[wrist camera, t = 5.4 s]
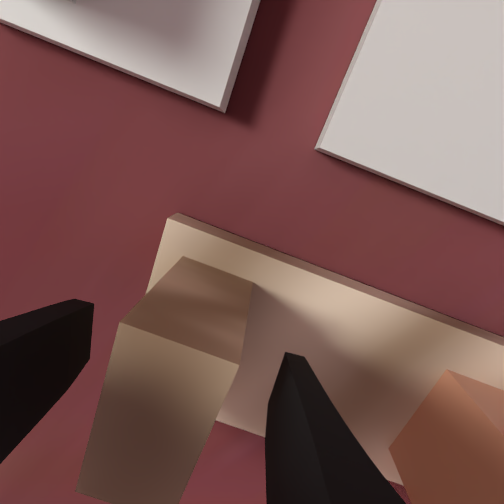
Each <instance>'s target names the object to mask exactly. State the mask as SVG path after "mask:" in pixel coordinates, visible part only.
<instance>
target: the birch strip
mask: <svg viewBox="0 0 504 504" xmlns="http://www.w3.org/2000/svg"><path fill="white" fill-rule="evenodd" d="M285 352H288V353H292V354H296V355H300V356H304V357H305V358H306V360H307V361H308V363H309V365H310V366H311V368H312V370H313V371H314V373H315V375H316V377H317V378H318V380H319V382H320V383H321V385H322V387H323V388H324V390H325V392H326V393H327V395H328V397H329V398H330V400H331V401H332V403H333V405H334V406H335V408H336V409H337V411H338V412H339V414H340V415H341V417H342V419H343V420H344V422H345V423H346V425H347V426H348V428H349V429H350V430H351V432H352V433H353V435H354V436H355V438H356V439H357V440H358V442H359V443H360V445H361V446H362V448H363V449H364V450H365V452H366V453H367V455H368V456H369V457H370V459H371V460H372V461H373V463H374V464H375V465H376V467H377V468H378V469H379V471H380V472H381V473H382V475H383V476H384V477H385V478H386V480H389V481H392V482H395V483H398V484H400V485H403V482H402V480H401V478H400V475H399V473H398V470H397V468H396V465H395V463H394V461H393V458H392V456H391V453H390V451H389V449H388V448H389V447H390V446H391V444H392V443H393V442H394V440H395V439H396V437H397V436H398V435H399V433H400V432H401V431H402V429H403V428H404V426H405V425H406V424H407V422H408V421H409V420H410V418H411V417H412V416H413V414H414V413H415V411H416V410H417V409H418V407H419V406H420V405H421V403H422V402H423V401H424V399H425V398H426V396H427V395H428V394H429V392H430V391H431V390H432V388H433V387H434V385H435V384H436V383H437V381H438V380H439V379H440V377H441V376H442V375H443V373H444V372H445V370H446V369H448V370H450V371H453V372H456V373H458V374H461V375H464V376H466V377H469V378H472V379H474V380H477V381H480V382H482V383H485V384H488V385H490V386H493V387H496V388H498V389H501V390H504V337H501V336H499V335H496V334H493V333H491V332H488V331H485V330H483V329H480V328H478V327H475V326H472V325H470V324H467V323H465V322H462V321H459V320H457V319H454V318H452V317H449V316H446V315H444V314H441V313H438V312H436V311H433V310H431V309H428V308H425V307H423V306H420V305H418V304H415V303H412V302H410V301H407V300H404V299H402V298H399V297H397V296H394V295H391V294H389V293H386V292H384V291H381V290H378V289H376V288H373V287H371V286H368V285H365V284H363V283H360V282H357V281H355V280H352V279H350V278H347V277H344V276H342V275H339V274H337V273H334V272H331V271H329V270H326V269H323V268H321V267H318V266H316V265H313V264H310V263H308V262H305V261H303V260H300V259H297V258H295V257H292V256H290V255H287V254H284V253H282V252H279V251H276V250H274V249H271V248H269V247H266V246H263V245H261V244H258V243H256V242H253V241H250V240H248V239H245V238H243V237H240V236H237V235H235V234H232V233H229V232H227V231H224V230H222V229H219V228H216V227H214V226H211V225H209V224H206V223H203V222H201V221H198V220H195V219H193V218H190V217H188V216H185V215H182V214H180V213H176V214H174V215H172V216H170V217H169V218H167V222H166V225H165V229H164V232H163V236H162V239H161V243H160V246H159V250H158V253H157V257H156V260H155V264H154V267H153V271H152V274H151V278H150V281H149V285H148V288H147V292H146V295H145V296H144V297H143V298H142V299H141V300H140V301H139V302H138V303H137V304H136V305H135V306H134V307H133V309H132V310H131V311H130V312H129V313H128V314H127V315H126V316H125V317H124V318H123V319H122V320H121V321H120V323H119V326H118V330H117V334H116V338H115V342H114V345H113V349H112V353H111V357H110V361H109V364H108V368H107V372H106V376H105V380H104V383H103V387H102V391H101V395H100V399H99V403H98V406H97V410H96V414H95V418H94V422H93V425H92V429H91V433H90V437H89V441H88V444H87V448H86V452H85V456H84V460H83V464H82V467H81V471H80V475H79V479H78V483H77V486H76V490H75V492H78V493H81V494H84V495H87V496H90V497H93V498H96V499H99V500H103V501H106V502H109V503H112V504H179V501H180V499H181V497H182V494H183V492H184V490H185V488H186V485H187V483H188V481H189V479H190V476H191V474H192V472H193V470H194V467H195V465H196V463H197V461H198V458H199V456H200V454H201V452H202V449H203V447H204V445H205V443H206V440H207V438H208V436H209V434H210V431H211V429H212V427H213V425H214V422H215V420H217V421H220V422H222V423H225V424H228V425H231V426H234V427H237V428H240V429H243V430H245V431H248V432H251V433H254V434H257V435H260V436H263V437H265V432H266V419H267V407H268V401H269V398H270V395H271V392H272V389H273V386H274V383H275V380H276V377H277V375H278V372H279V369H280V366H281V363H282V360H283V357H284V354H285ZM403 486H404V485H403Z"/></svg>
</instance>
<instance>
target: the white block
mask: <svg viewBox="0 0 504 504" xmlns="http://www.w3.org/2000/svg"><path fill="white" fill-rule="evenodd" d="M259 3H260V0H0V23H3V24H5V25H8V26H10V27H13V28H15V29H18V30H20V31H23V32H25V33H28V34H30V35H33V36H35V37H37V38H40V39H42V40H45V41H47V42H50V43H52V44H55V45H57V46H60V47H62V48H65V49H67V50H70V51H72V52H75V53H77V54H80V55H82V56H85V57H87V58H89V59H92V60H94V61H97V62H99V63H102V64H104V65H107V66H109V67H112V68H114V69H117V70H119V71H122V72H124V73H127V74H129V75H132V76H134V77H137V78H139V79H141V80H144V81H146V82H149V83H151V84H154V85H156V86H159V87H161V88H164V89H166V90H169V91H171V92H174V93H176V94H179V95H181V96H184V97H186V98H189V99H191V100H193V101H196V102H198V103H201V104H203V105H206V106H208V107H211V108H213V109H216V110H218V111H221V112H223V113H225V112H226V108H227V105H228V102H229V99H230V96H231V92H232V89H233V86H234V83H235V80H236V77H237V73H238V70H239V67H240V64H241V61H242V57H243V54H244V51H245V48H246V45H247V42H248V38H249V35H250V32H251V29H252V26H253V22H254V19H255V16H256V13H257V10H258V7H259ZM315 150H317V151H320V152H322V153H325V154H327V155H330V156H332V157H335V158H337V159H340V160H342V161H345V162H347V163H349V164H352V165H354V166H357V167H359V168H362V169H364V170H367V171H369V172H372V173H374V174H377V175H379V176H382V177H384V178H387V179H389V180H392V181H394V182H397V183H399V184H401V185H404V186H406V187H409V188H411V189H414V190H416V191H419V192H421V193H424V194H426V195H429V196H431V197H434V198H436V199H439V200H441V201H444V202H446V203H449V204H451V205H453V206H456V207H458V208H461V209H463V210H466V211H468V212H471V213H473V214H476V215H478V216H481V217H483V218H486V219H488V220H491V221H493V222H496V223H498V224H501V225H503V226H504V0H377V2H376V4H375V6H374V9H373V11H372V13H371V16H370V18H369V21H368V23H367V25H366V28H365V30H364V32H363V35H362V37H361V40H360V42H359V44H358V47H357V49H356V51H355V54H354V56H353V59H352V61H351V63H350V66H349V68H348V70H347V73H346V75H345V78H344V80H343V82H342V85H341V87H340V89H339V92H338V94H337V97H336V99H335V101H334V104H333V106H332V109H331V111H330V113H329V116H328V118H327V120H326V123H325V125H324V128H323V130H322V132H321V135H320V137H319V139H318V142H317V144H316V147H315Z"/></svg>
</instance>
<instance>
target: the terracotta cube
mask: <svg viewBox="0 0 504 504" xmlns="http://www.w3.org/2000/svg"><path fill="white" fill-rule="evenodd" d="M388 449H389V451H390V453H391V456H392V458H393V461H394V463H395V465H396V468H397V470H398V473H399V475H400V478H401V480H402V482H403V485H404V487H405V490H406V492H407V495H408V497H409V499H410V502H411V504H504V390H501V389H498V388H496V387H493V386H490V385H488V384H485V383H482V382H480V381H477V380H474V379H472V378H469V377H466V376H464V375H461V374H458V373H456V372H453V371H450V370H448V369H446V370H445V372H444V373H443V375H442V376H441V377H440V379H439V380H438V381H437V383H436V384H435V385H434V387H433V388H432V390H431V391H430V392H429V394H428V395H427V396H426V398H425V399H424V401H423V402H422V403H421V405H420V406H419V407H418V409H417V410H416V411H415V413H414V414H413V416H412V417H411V418H410V420H409V421H408V422H407V424H406V425H405V426H404V428H403V429H402V431H401V432H400V433H399V435H398V436H397V437H396V439H395V440H394V442H393V443H392V444H391V446H390V447H389V448H388Z"/></svg>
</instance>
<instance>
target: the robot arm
mask: <svg viewBox="0 0 504 504" xmlns="http://www.w3.org/2000/svg"><path fill="white" fill-rule="evenodd" d="M93 311H94V304H93V303H89V302H85V301H81V300H77V299H72V300H67V301H64V302H60V303H57V304H53V305H50V306H47V307H43V308H40V309H37V310H34V311H31V312H27V313H24V314H21V315H18V316H15V317H12V318H8V319H5V320H2V321H0V464H1V463H2V461H3V460H4V459H5V458H6V457H7V456H8V455H9V454H10V453H11V452H12V450H13V449H14V448H15V447H16V446H17V445H18V444H19V443H20V442H21V441H22V440H23V438H24V437H25V436H26V435H27V434H28V433H29V432H30V431H31V430H32V429H33V427H34V426H35V425H36V424H37V423H38V422H39V421H40V420H41V419H42V418H43V417H44V415H45V414H46V413H47V412H48V411H49V410H50V409H51V408H52V407H53V405H54V404H55V403H56V402H57V401H58V400H59V399H60V398H61V397H62V395H63V394H64V393H65V392H66V391H67V390H68V388H69V387H70V386H71V384H72V383H73V382H74V380H75V379H76V378H77V376H78V375H79V373H80V372H81V371H82V369H83V368H84V366H85V365H86V363H87V362H88V360H89V359H90V348H91V336H92V324H93ZM265 460H266V498H267V504H406V503H405V502H404V501H403V499H402V498H401V497H400V496H399V494H398V493H397V492H396V491H395V489H394V488H393V487H392V486H391V485H390V483H389V482H388V481H387V480H386V478H385V477H384V476H383V475H382V473H381V472H380V471H379V469H378V468H377V467H376V465H375V464H374V463H373V461H372V460H371V459H370V457H369V456H368V455H367V453H366V452H365V450H364V449H363V448H362V446H361V445H360V443H359V442H358V440H357V439H356V438H355V436H354V435H353V433H352V432H351V430H350V429H349V428H348V426H347V425H346V423H345V422H344V420H343V419H342V417H341V415H340V414H339V412H338V411H337V409H336V408H335V406H334V405H333V403H332V401H331V400H330V398H329V397H328V395H327V393H326V392H325V390H324V388H323V387H322V385H321V383H320V382H319V380H318V378H317V377H316V375H315V373H314V371H313V370H312V368H311V366H310V365H309V363H308V361H307V360H306V358H305V357H304V356H300V355H296V354H292V353H288V352H285V354H284V357H283V360H282V363H281V366H280V369H279V372H278V375H277V377H276V380H275V383H274V386H273V389H272V392H271V395H270V398H269V401H268V407H267V419H266V432H265Z"/></svg>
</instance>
